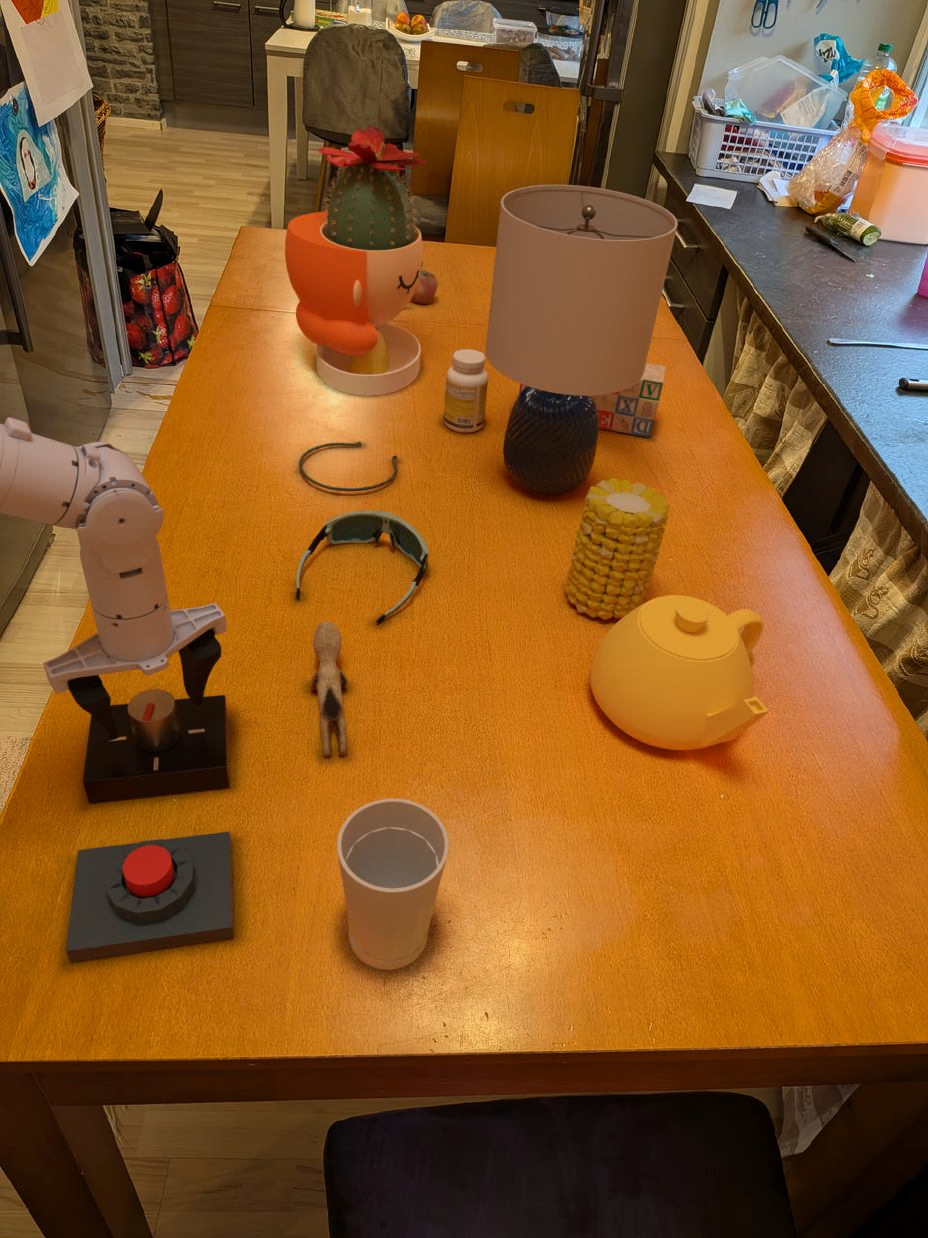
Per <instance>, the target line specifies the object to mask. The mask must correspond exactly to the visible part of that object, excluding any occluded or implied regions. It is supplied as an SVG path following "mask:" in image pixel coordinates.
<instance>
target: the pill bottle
mask: <svg viewBox="0 0 928 1238" xmlns="http://www.w3.org/2000/svg"><path fill="white" fill-rule="evenodd" d="M485 364H486V355H485V354H484V353H483V352H481V351H479V350H476V349H471V348H470V349H469V348H467V349H466V348H465V349H459V350H456V351H455V352H453V354H452V365H451V366H450V367H449V368H448V369H447V372H446V379H445V393H444V408H443V409H444V410H443V423H444V425H445V426H446V427H447V428H448V429H450V430H452V431H454V432H457V433H463V434H464V433H466V434H468V433H475V432H478V431H480V430H481V429H482V428H483V427H484V424H485V415H486V405H487V394H488V383H489V375H488V374H489V373H488V372H487V371H486V369H485V366H486V365H485Z"/></svg>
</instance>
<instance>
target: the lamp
mask: <svg viewBox="0 0 928 1238" xmlns="http://www.w3.org/2000/svg"><path fill="white" fill-rule="evenodd" d="M498 218H499V219H498V226H497V235H496V236H497V237H496V246H495V255H494V265H493V275H492V283H491V292H490V293H491V294H490V304H489V311H488V312H489V313H488V320H487V321H488V322H487V331H486V342H485V358H486V359H487V361H488V363H489V364H490V365H491V367H492V368H494V369H495V370H496V371H497V372H499V373H500V374H501V375H503V376H504V377H506V378H509V379H510V380H511V381H514V382H516V383H518V384H520V383H521V384H523V385H526V386H528V387H526V388H525V389H523V390H522V391H521V393H520V394H519V393H518V396H517V398H516V400H515V401H514V403H513V406H512V408H511V410H510V413H509V416H508V420H507V425H506V429H505V432H504V439H503V447H502V455H503V457H502V458H503V464H504V468H505V470H506V472H507V475H509V476H510V478H511V480H513V482H514V483H515V484H517V485H518V486H519V487H521V488H522V489H526V491H530V493H535V494H536V495H541V496H547V497H551V496H561V495H565V494H568V493H571V492H573V491H574V490H576V489H578V488H579V487H581V486H582V485H583V484H584V483H585V482H586V480H587V479H588V477H589V476H590V474H591V472H592V469H593V465H594V464H595V458H596V455H597V448H598V441H599V431H600V430H599V428H598V427H599V423H598V412H597V408H596V404H595V402H594V400H593V398H592V397H590V396H591V395H604V394H610V393H615V392H619V391H622V390H625V389H628V388H630V387H632V386H633V385H635V384H636V383H637V382H638V381H640V379H641V378H642V376H643V373H644V369H645V364H647V359H648V356H649V351H650V347H651V343H652V338H653V333H654V330H655V329H654V328H655V325H656V320H657V316H658V312H659V307H660V303H661V298H662V294H663V290H664V285H665V281H666V276H667V272H668V268H669V263H670V259H671V254H672V250H673V246H674V242H675V237H676V233H677V228H678V220H677V218H676V217H675V215H674V214H673V213H672V212H670V210H668V209H666V208H665V207H663V206H661V205H659V204H657V203H655V202H653V201H651V200H648V199H645V198H642V197H640V196H636V195H632V194H629V193H624V192H621V191H616V190H611V189H606V188H600V187H593V186H585V185H574V184H539V185H530V186H525V187H520V188H516V189H513V190H511V191H509V192H507V193H506V194H504V195H503V196H502V198H501V199H500V207H499V217H498Z"/></svg>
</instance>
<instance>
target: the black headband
mask: <svg viewBox="0 0 928 1238" xmlns="http://www.w3.org/2000/svg"><path fill="white" fill-rule="evenodd" d="M335 446H341V447H342V446H343V447H344V446H345V447H360V446H362V442H361V441H357V442H355V443H354V442H353V443H352V442H329V443H324V444H320V445H316V446H314V447H312V448H310V449H307V450H306V451H304V453H303V454H302V455H301V456H300V458H299V460H298V468H299V470H300V473H301V474H302V476H303V477H304V478H305V479H306V480H308V481H309V482H310V483H312V484H314V485H316V486H317V487H320V488H324V489H326V490H331V491H337V492H362V491H369V490H373V489H374V490H375V489H377V488H380V487H383V486H385V485H386V486H387V485H388V484H390V483H392V481H394V479H395V477H396V476H397V473H398V465H397V461H396V460H398V456H397V455H395V454H394V455H392V457H391V461H392V464H393V467H394V470H393V473H392V475H391V476H390V477H389V478H388V479H387V480H385V481H383V482H380V483H376V484H374V485H373V484H372V485H370V486H364V487H337V486H331V485H326V484H324V483H321V482H318V481H316V480H314V479H313V478H311V477H310V476H309V475H308V474H307V473H306V472H305V470H304V466H303V461H304V460H305V458H306V457H307V456H308V455H310V453H312V452H314V451H318V450H319V449H323V448H326V447H335Z"/></svg>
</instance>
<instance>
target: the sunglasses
mask: <svg viewBox="0 0 928 1238" xmlns="http://www.w3.org/2000/svg"><path fill="white" fill-rule="evenodd" d="M383 533H384V534H387V535H388V537H389V541H390V546H391V548H393V549H395V548H396V547H397V548H398V549H399V551H401V553H402V554H403V555H405V556H406V557H408V558H409V559H411V560H412V561H413V562H414V563H415V564H416V565H417V566H418V567H419V569H418V572H417V573H416V576H415V578H414V579H413V580H412V581H411V585H410V588H409V589H408V591H407V592H406V594H404V596H403V598H401V600H400V601H399V602H398V603H396V605H395V606H393V607H392V608H391V609H389V610H387V611H386V612H385V613H383V614H382V615H380V616H379V617H378V618H377V620H375V623H376V624H378V625H380V624H381V623H383V622H384V621H385V620H386V619H387V618H389V617H391V616H392V615H394V613H396V612H398V611H399V610H400V609H401V608H402V607H403V606H404V605H405V604H406V603H407V602H408V601H409V600H410V598H411V597H412V596H413V594H414V591H415V589H416V587H419V585H420V584H421V581H422V580H423V579H424V576H425V573H426V571H427V569H428V567H429V549H428V545H427V543H426V541H425V540H424V538H423V536H422V535H421V534H420V532H419V531H418V530H416V528H414V527H413V525H411V524H410V523H409V522H407V521H406V520H404V519H402V517H401V516H398V515H395V514H392V513H390V512H387V511H383V510H378V509H377V510H376V509H375V510H356V511H350V512H346V513H343V514H340V515H337V516H335V517H332V518H330V519H329V520H327V521H325V522H324V526H323V527H322V528H321V529H320V530H319V532H318V533H317V535H315V537H314V538H313V540H312V541H311V543H310V545H309V546H308V548H307V550H306V551H305V552H304V553H303V554H302V556H301V559H300V562H299V565H298V568H297V572H296V595H295V598H296V599H297V600H298V599H299V600H300V595H301V575H302V572H303V569H304V566H305V564H306V562H307V561H308V560H309V558H310V557H311V555H313V554H314V552H315V551H316V550H317V548H318V546H319V545H320V543H321V542H322V541H323V540H325V538H326V542H328V543H330V544H333V545H338V544H349V543H351V544H355V543H356V544H367V543H370V542H371V543H372V542H374V543H378V542H379V541H380V539H381V537H382V535H383Z"/></svg>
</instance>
